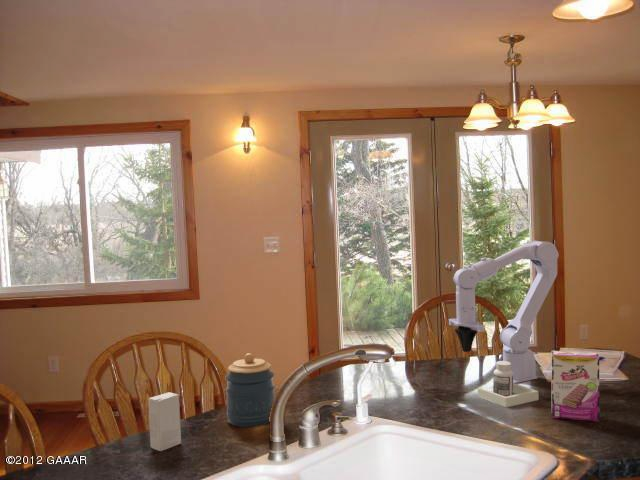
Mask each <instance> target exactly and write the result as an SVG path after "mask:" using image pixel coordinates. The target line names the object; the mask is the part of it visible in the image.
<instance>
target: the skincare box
mask: <svg viewBox="0 0 640 480" xmlns="http://www.w3.org/2000/svg"><path fill="white" fill-rule="evenodd" d="M147 401H148V402H147V403H148V418H149V419H148V421H149V437H150V439H149V442H150V443H149V444H150V448H151V449H153V450H155V451H159V452H162V451H165V450H167V449H170V448H173V447H175V446H177V445H180V444H182V433H181V411H180V410H181V409H180V395H179V394H177V393H174V392H169V391H168V392H165V393H161V394H159V395H155V396H152V397H151V396H150V397H149V398H148V399H147Z"/></svg>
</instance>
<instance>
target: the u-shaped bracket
mask: <svg viewBox="0 0 640 480" xmlns="http://www.w3.org/2000/svg"><path fill="white" fill-rule="evenodd" d="M477 397H478V398H479V399H482V400H485V401H487V402H490V403H492V404H495V405H498V406H501V407H503V408H509V407H510V408H511V407H514V406H519V405H522V404H528V403H532V402H537V401H539V397H540V396H539V391H538V390H536V389H533V388H531V387H526V386H525V385H520V384H519V383H513V395H511V396H507V397H505V396H502V395H499V394H497V393H494V392H493V391H491V390H488V389H485V388H482V387H478V388H477Z"/></svg>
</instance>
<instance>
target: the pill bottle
mask: <svg viewBox="0 0 640 480" xmlns="http://www.w3.org/2000/svg"><path fill="white" fill-rule="evenodd" d="M510 369H511V363H510V362H507V361H503V360H497V361H496V363H495V369H494V370H493V381H492V384H493V385H492V389H493V391H492V392H494V393H497V394H499V395H502V396H505V397H507V396H511V395H514V393H513V372H512V370H510Z"/></svg>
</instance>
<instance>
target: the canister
mask: <svg viewBox="0 0 640 480" xmlns="http://www.w3.org/2000/svg"><path fill="white" fill-rule="evenodd" d="M243 357H244V358H243V359H238V360H235V361H233V362H232V363H231V364H230V365H228V367H227V370H228V371H229V372H228V373H227V374H226V375H224V380H225V381H226V382H227V383H226V388H225V393H226V394H225V395H226V412H225V413H226V419H227V422H228V423H229V424H230V425H232V426H235V427H238V428H239V427H240V428H251V427H253V428H254V427H260V426H264V425H268V424H270V423H269V417H270V412H271V408H272V405H273V402H274V400H275V401H276V397H275V396H276V395H275V394H276V393H275V389H276V386H275V384H274V380H273V378H274V377H275V372H274V371H273V370H271V368H272V364H271V363H269V362H268V361H266V360H265V359H263V358H255V356H254V354H253V353H250V352H249V353H246V354H245V355H244V356H243Z"/></svg>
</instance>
